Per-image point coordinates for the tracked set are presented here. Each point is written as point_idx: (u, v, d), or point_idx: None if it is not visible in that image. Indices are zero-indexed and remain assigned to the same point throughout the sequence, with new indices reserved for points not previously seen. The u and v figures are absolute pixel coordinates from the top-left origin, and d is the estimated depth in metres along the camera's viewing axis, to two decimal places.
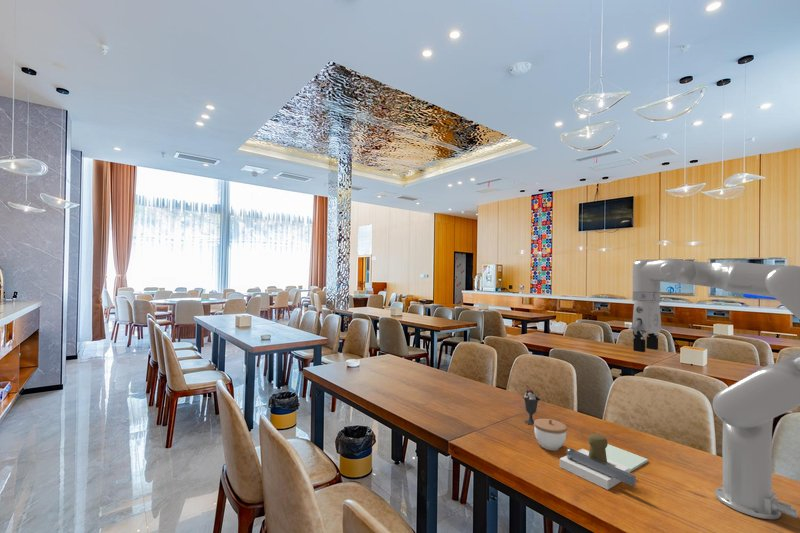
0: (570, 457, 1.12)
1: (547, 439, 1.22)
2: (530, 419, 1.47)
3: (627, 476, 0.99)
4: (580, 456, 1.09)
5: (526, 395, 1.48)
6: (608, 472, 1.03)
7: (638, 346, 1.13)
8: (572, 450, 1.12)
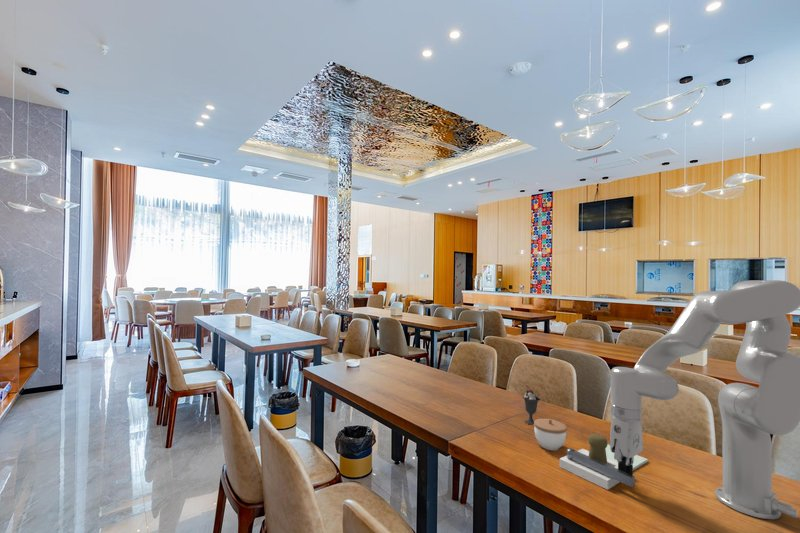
0: (570, 457, 1.12)
1: (547, 439, 1.22)
2: (530, 419, 1.47)
3: (626, 477, 0.98)
4: (580, 456, 1.09)
5: (526, 395, 1.48)
6: (607, 472, 1.03)
7: None
8: (572, 450, 1.12)
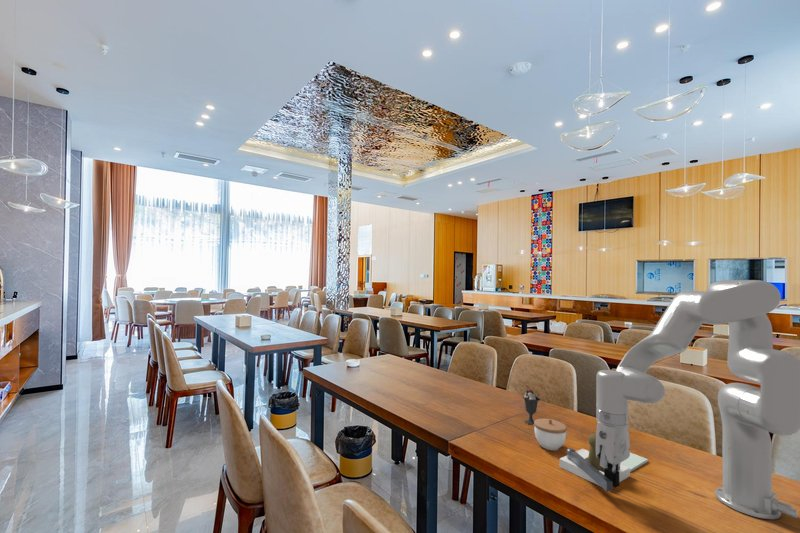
0: (568, 456, 1.12)
1: (547, 439, 1.22)
2: (530, 419, 1.47)
3: (603, 480, 0.96)
4: (575, 456, 1.09)
5: (526, 395, 1.48)
6: (591, 474, 1.01)
7: None
8: (571, 450, 1.12)
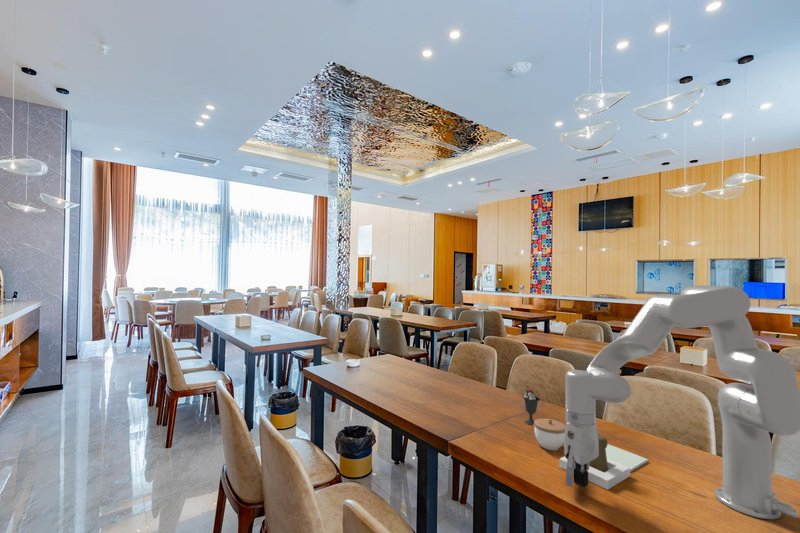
0: None
1: (547, 439, 1.22)
2: (530, 419, 1.47)
3: (566, 475, 0.98)
4: None
5: (526, 395, 1.48)
6: None
7: (578, 479, 0.98)
8: None
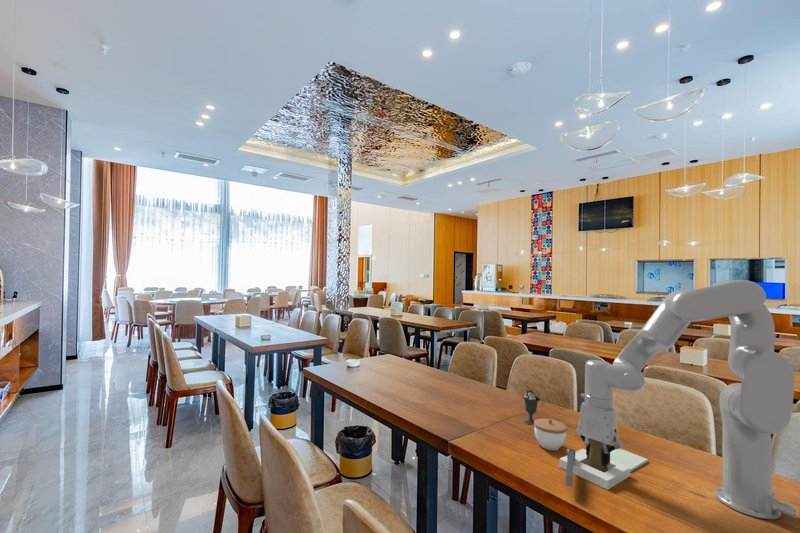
0: (567, 455, 1.13)
1: (547, 439, 1.22)
2: (530, 419, 1.47)
3: (566, 475, 0.98)
4: (567, 455, 1.10)
5: (526, 395, 1.48)
6: None
7: None
8: (570, 450, 1.12)
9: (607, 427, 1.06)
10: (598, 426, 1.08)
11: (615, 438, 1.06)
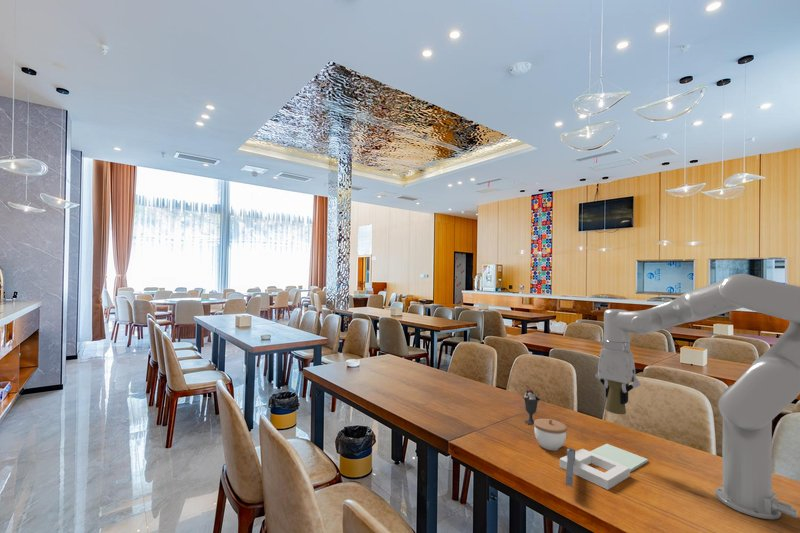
0: (567, 455, 1.13)
1: (547, 439, 1.22)
2: (530, 419, 1.47)
3: (566, 475, 0.98)
4: (567, 455, 1.10)
5: (526, 395, 1.48)
6: None
7: None
8: (570, 450, 1.12)
9: (626, 367, 1.15)
10: (617, 368, 1.17)
11: (633, 377, 1.15)
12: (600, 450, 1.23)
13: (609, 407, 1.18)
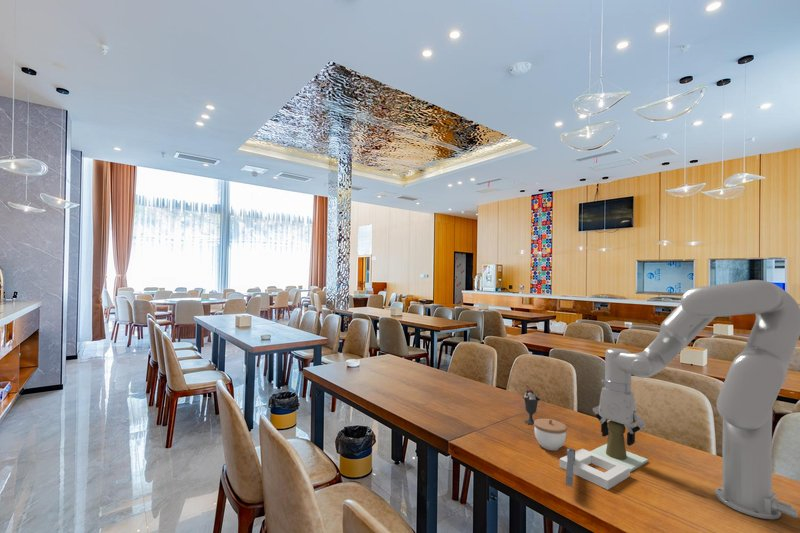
0: (567, 455, 1.13)
1: (547, 439, 1.22)
2: (530, 419, 1.47)
3: (566, 475, 0.98)
4: (567, 455, 1.10)
5: (526, 395, 1.48)
6: None
7: None
8: (570, 450, 1.12)
9: (627, 409, 1.15)
10: (618, 408, 1.17)
11: (636, 418, 1.15)
12: (600, 450, 1.23)
13: (609, 452, 1.19)
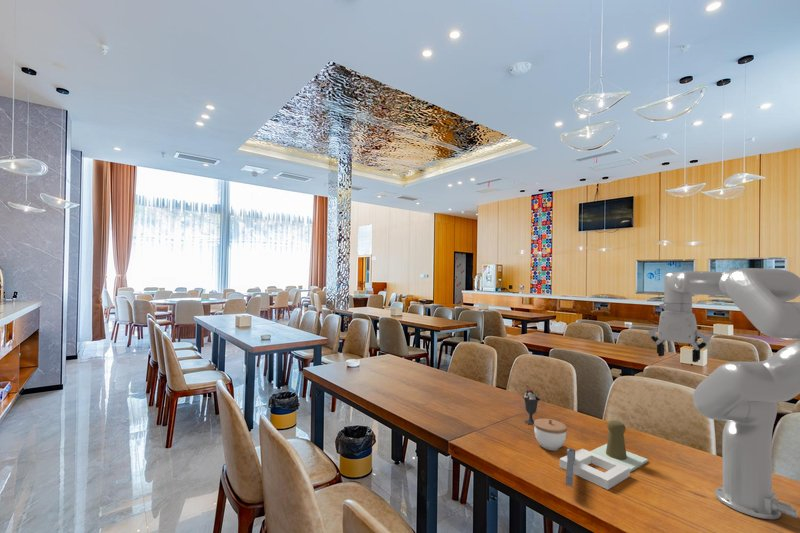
0: (567, 455, 1.13)
1: (547, 439, 1.22)
2: (530, 419, 1.47)
3: (566, 475, 0.98)
4: (567, 455, 1.10)
5: (526, 395, 1.48)
6: None
7: None
8: (570, 450, 1.12)
9: (689, 327, 1.18)
10: (679, 328, 1.20)
11: (700, 334, 1.17)
12: (600, 450, 1.23)
13: (609, 452, 1.19)
